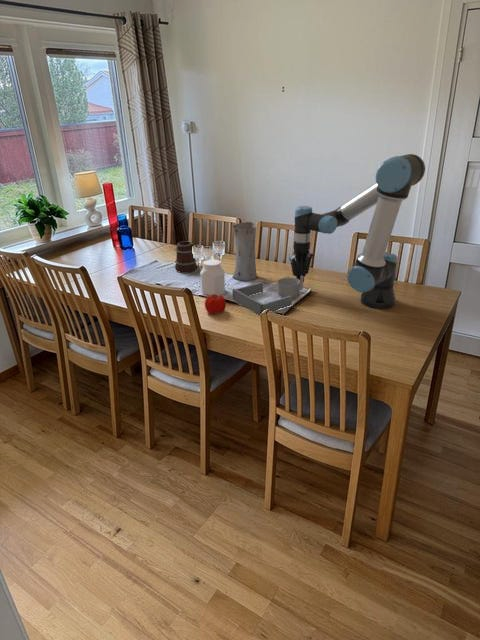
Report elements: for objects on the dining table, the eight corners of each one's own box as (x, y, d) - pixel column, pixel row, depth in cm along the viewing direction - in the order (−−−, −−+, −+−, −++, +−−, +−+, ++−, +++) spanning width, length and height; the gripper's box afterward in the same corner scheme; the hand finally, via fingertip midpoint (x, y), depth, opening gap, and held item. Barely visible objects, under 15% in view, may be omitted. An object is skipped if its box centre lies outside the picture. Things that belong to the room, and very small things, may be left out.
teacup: (298, 302, 201) (299, 285, 198) (274, 300, 203) (275, 284, 200) (301, 290, 213) (302, 275, 210) (279, 289, 216) (279, 273, 212)
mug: (189, 274, 237) (187, 247, 231) (171, 270, 243) (168, 244, 236) (204, 265, 250) (203, 239, 243) (187, 262, 255) (185, 237, 248)
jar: (228, 290, 216) (227, 260, 209) (219, 297, 208) (217, 267, 202) (208, 286, 221) (206, 257, 214) (198, 293, 213) (196, 263, 206)
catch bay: (291, 306, 197) (291, 295, 195) (261, 316, 189) (261, 304, 186) (261, 291, 214) (261, 281, 211) (232, 299, 205) (232, 289, 203)
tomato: (201, 312, 194) (200, 296, 190) (216, 306, 199) (216, 290, 196) (215, 318, 188) (215, 302, 184) (230, 312, 193) (230, 296, 190)
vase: (229, 281, 227) (227, 228, 214) (237, 271, 239) (236, 221, 226) (253, 284, 224) (253, 230, 211) (260, 274, 235) (260, 222, 222)
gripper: (307, 236, 207) (304, 283, 217) (285, 241, 200) (284, 289, 211) (318, 240, 201) (315, 288, 212) (296, 245, 195) (294, 294, 205)
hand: (299, 288), depth 211 cm, fingers closed
